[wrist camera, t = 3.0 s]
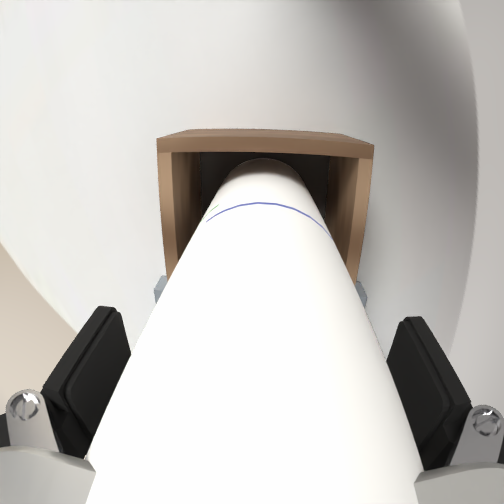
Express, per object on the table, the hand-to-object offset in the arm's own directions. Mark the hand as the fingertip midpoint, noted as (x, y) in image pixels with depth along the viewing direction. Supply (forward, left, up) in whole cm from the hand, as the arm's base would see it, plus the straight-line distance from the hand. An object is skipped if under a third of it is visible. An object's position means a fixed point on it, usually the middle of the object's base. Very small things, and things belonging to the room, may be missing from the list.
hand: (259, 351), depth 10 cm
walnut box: (0, 0, -17) cm, 17 cm away
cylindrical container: (0, 0, -17) cm, 17 cm away
